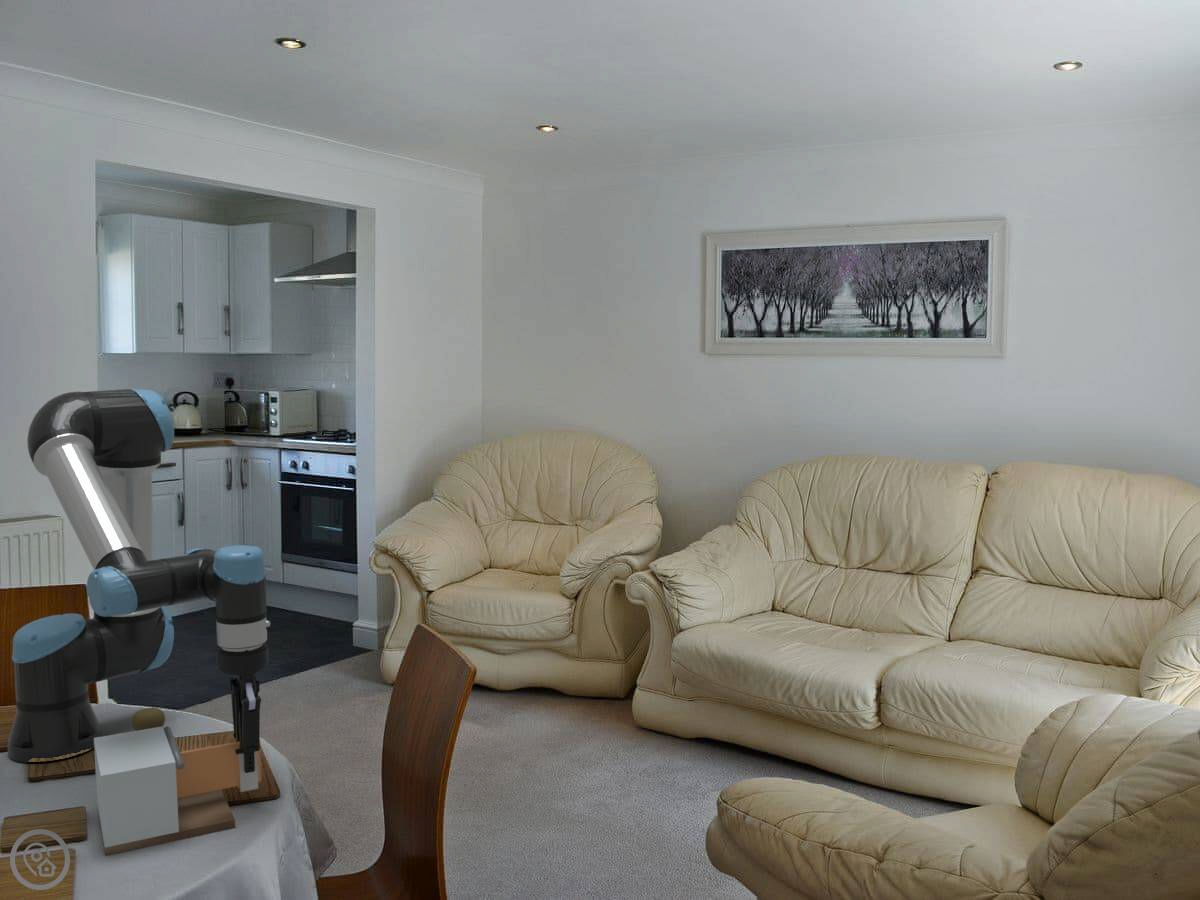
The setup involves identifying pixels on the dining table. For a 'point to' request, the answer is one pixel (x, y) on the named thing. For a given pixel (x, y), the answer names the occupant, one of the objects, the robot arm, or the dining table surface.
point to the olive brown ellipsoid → (148, 719)
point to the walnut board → (189, 820)
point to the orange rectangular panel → (210, 769)
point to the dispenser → (137, 784)
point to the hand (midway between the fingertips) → (248, 787)
